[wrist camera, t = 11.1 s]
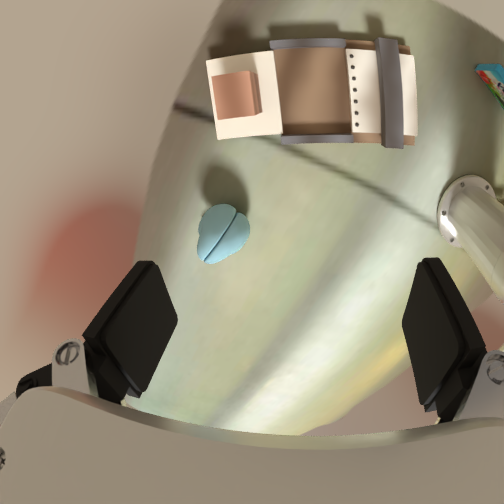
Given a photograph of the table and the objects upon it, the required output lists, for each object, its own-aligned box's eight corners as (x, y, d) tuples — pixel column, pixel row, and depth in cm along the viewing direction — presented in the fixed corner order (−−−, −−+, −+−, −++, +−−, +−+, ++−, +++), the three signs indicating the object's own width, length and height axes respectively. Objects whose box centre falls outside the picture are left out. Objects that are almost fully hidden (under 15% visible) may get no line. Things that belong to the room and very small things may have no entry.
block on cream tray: (273, 51, 27) (267, 41, 21) (283, 132, 33) (279, 141, 27) (208, 61, 29) (188, 55, 23) (219, 138, 35) (202, 148, 29)
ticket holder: (405, 47, 24) (418, 43, 20) (410, 143, 31) (422, 150, 28) (271, 43, 28) (267, 36, 24) (283, 141, 35) (280, 148, 31)
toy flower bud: (165, 270, 40) (202, 216, 33) (188, 238, 47) (223, 187, 40) (205, 297, 41) (250, 250, 34) (222, 261, 48) (262, 215, 41)
